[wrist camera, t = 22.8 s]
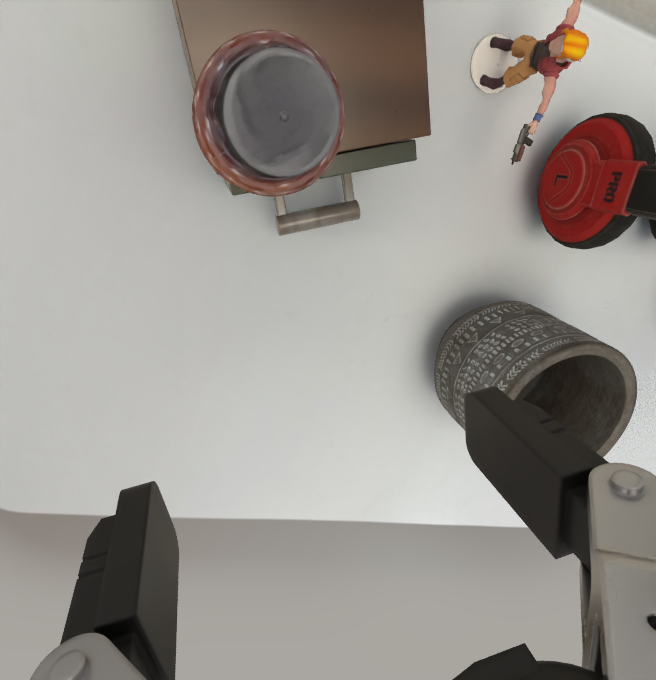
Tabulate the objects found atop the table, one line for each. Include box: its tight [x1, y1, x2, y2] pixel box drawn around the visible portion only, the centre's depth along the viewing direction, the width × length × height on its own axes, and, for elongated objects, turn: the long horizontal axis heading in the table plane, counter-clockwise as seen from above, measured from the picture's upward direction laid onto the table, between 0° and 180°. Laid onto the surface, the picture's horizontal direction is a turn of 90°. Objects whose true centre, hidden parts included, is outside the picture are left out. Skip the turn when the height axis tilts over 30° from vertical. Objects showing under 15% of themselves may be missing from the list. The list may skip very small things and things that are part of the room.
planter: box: [435, 301, 637, 458], centre depth 41 cm, size 12×12×13 cm
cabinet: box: [172, 0, 431, 175], centre depth 29 cm, size 15×13×9 cm
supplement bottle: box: [192, 30, 345, 196], centre depth 21 cm, size 6×6×11 cm
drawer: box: [224, 139, 417, 236], centre depth 30 cm, size 18×12×7 cm, turn 9°
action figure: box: [471, 0, 589, 165], centre depth 33 cm, size 12×3×9 cm, turn 169°
